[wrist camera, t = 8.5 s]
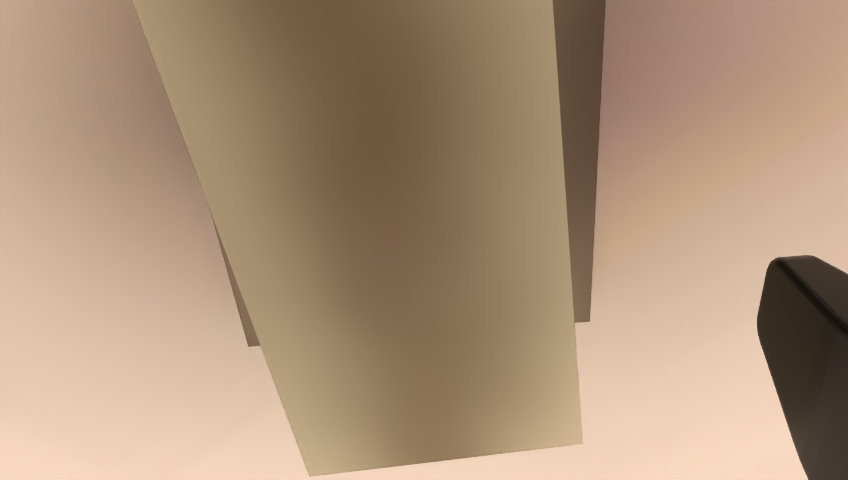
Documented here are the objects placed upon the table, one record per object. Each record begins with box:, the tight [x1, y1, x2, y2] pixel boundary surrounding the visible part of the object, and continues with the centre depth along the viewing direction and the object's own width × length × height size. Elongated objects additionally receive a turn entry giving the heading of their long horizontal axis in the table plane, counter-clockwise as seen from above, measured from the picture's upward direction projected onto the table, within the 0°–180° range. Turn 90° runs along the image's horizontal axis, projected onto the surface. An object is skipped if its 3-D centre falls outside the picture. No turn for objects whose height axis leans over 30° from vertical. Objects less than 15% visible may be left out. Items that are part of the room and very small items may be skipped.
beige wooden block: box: [132, 0, 583, 477], centre depth 14 cm, size 6×16×4 cm, turn 9°
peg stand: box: [212, 0, 605, 347], centre depth 17 cm, size 10×19×3 cm, turn 5°
